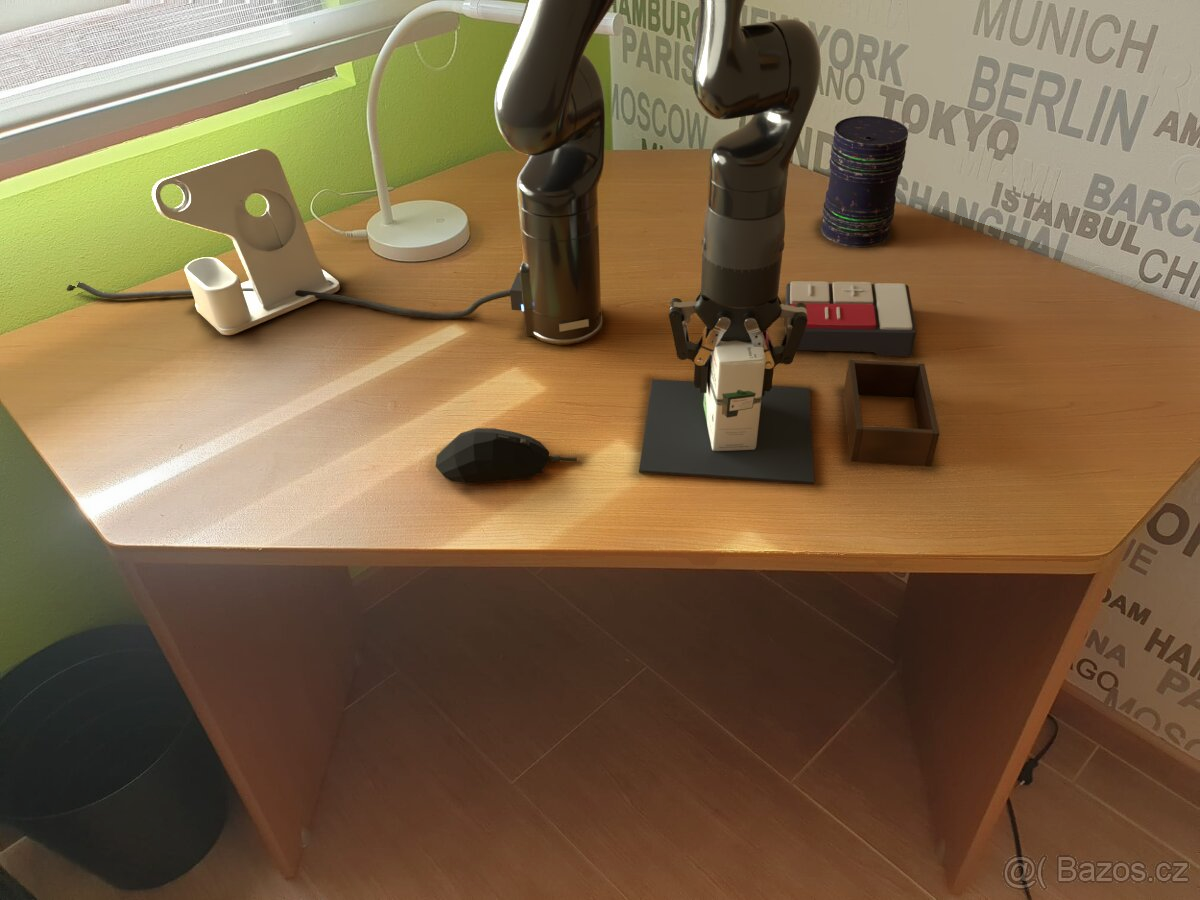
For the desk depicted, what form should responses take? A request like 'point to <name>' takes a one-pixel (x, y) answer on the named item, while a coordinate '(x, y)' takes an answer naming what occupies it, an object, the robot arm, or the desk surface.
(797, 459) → the mat
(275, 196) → the phone holder
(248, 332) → the desk surface
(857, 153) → the navy blue cylinder
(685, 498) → the desk surface
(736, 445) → the ink box
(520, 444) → the gaming mouse
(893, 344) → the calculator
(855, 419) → the box
